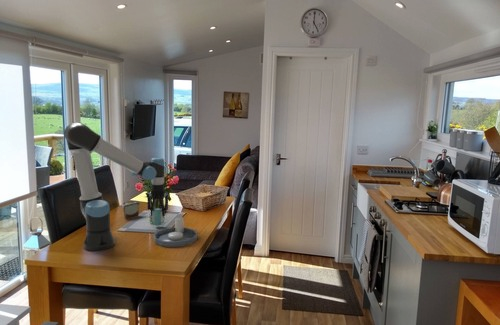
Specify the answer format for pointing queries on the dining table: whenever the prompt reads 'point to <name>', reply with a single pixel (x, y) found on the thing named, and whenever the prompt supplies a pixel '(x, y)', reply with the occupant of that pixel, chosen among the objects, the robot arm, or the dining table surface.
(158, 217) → the teal green block
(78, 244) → the dining table surface
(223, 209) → the dining table surface
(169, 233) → the groove tray
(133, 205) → the food container
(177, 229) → the cream bead
